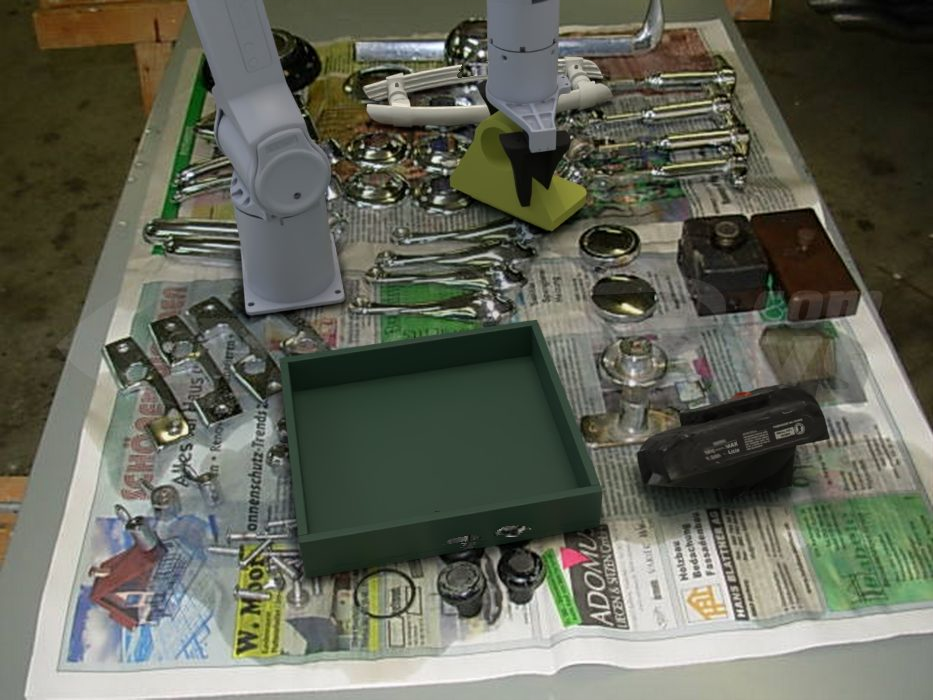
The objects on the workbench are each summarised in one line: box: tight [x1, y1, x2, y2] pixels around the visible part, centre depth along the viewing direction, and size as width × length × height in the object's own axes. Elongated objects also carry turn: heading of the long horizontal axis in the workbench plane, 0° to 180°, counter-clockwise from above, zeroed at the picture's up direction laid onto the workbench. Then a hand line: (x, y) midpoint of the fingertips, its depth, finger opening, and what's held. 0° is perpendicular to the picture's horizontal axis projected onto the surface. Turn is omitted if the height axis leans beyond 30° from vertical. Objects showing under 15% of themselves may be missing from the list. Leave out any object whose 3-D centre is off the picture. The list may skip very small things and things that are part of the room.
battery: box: [636, 383, 831, 501], centre depth 73 cm, size 12×8×7 cm
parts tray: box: [278, 319, 604, 579], centre depth 76 cm, size 17×19×4 cm
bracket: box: [449, 110, 587, 232], centre depth 97 cm, size 11×6×10 cm, turn 51°
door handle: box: [362, 56, 614, 128], centre depth 113 cm, size 3×10×25 cm
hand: (521, 180), depth 98 cm, fingers open, 7 cm apart
